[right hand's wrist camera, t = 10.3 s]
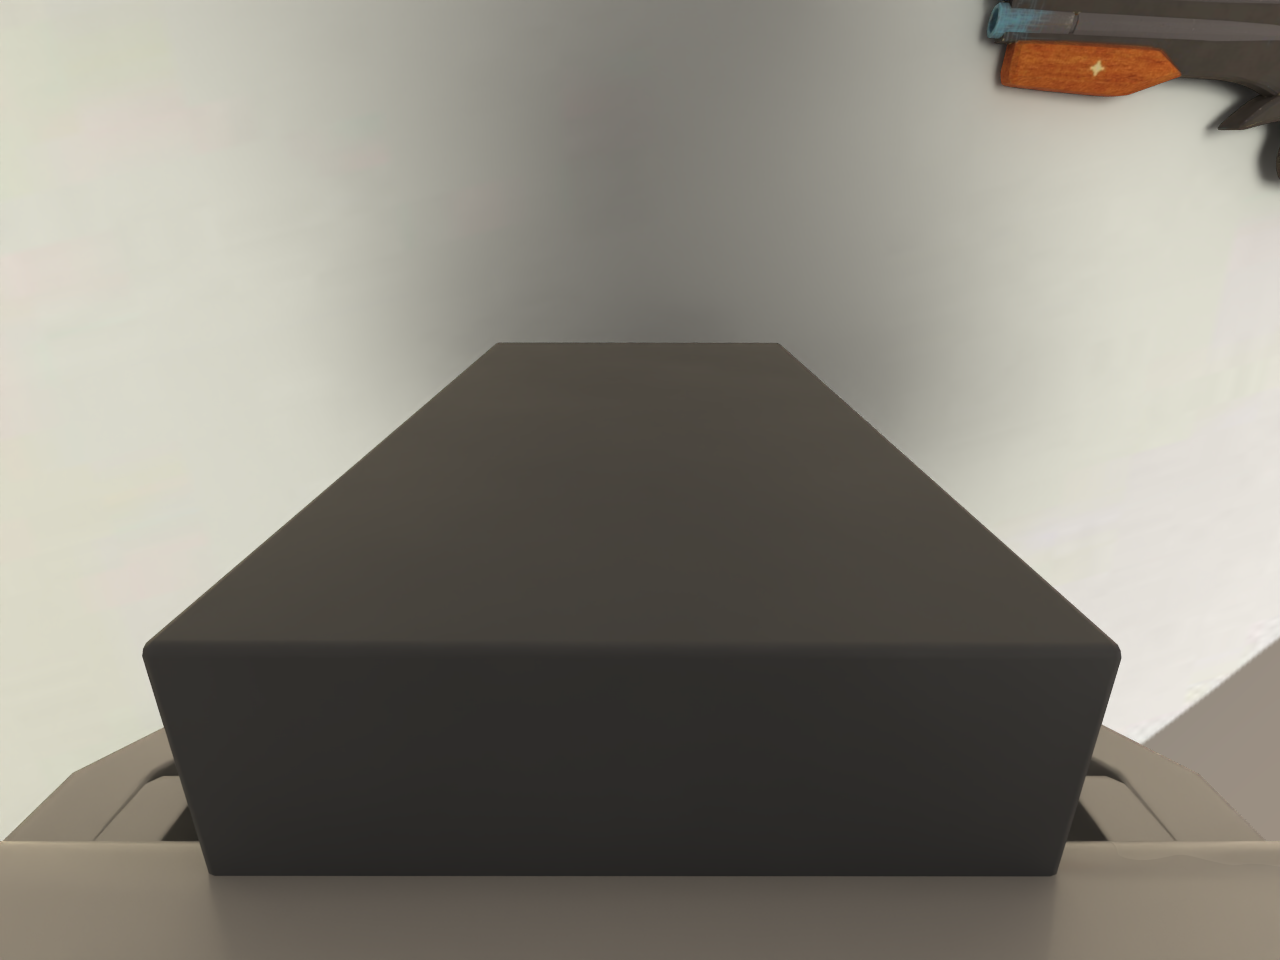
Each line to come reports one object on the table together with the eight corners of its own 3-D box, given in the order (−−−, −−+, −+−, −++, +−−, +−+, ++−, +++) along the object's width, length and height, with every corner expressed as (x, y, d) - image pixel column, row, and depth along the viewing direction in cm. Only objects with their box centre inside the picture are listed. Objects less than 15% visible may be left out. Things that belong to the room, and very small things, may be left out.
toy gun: (1544, 319, 22) (1805, -73, 17) (941, 274, 23) (1037, -108, 18) (1461, 300, 24) (1671, -48, 20) (918, 260, 25) (999, -80, 21)
